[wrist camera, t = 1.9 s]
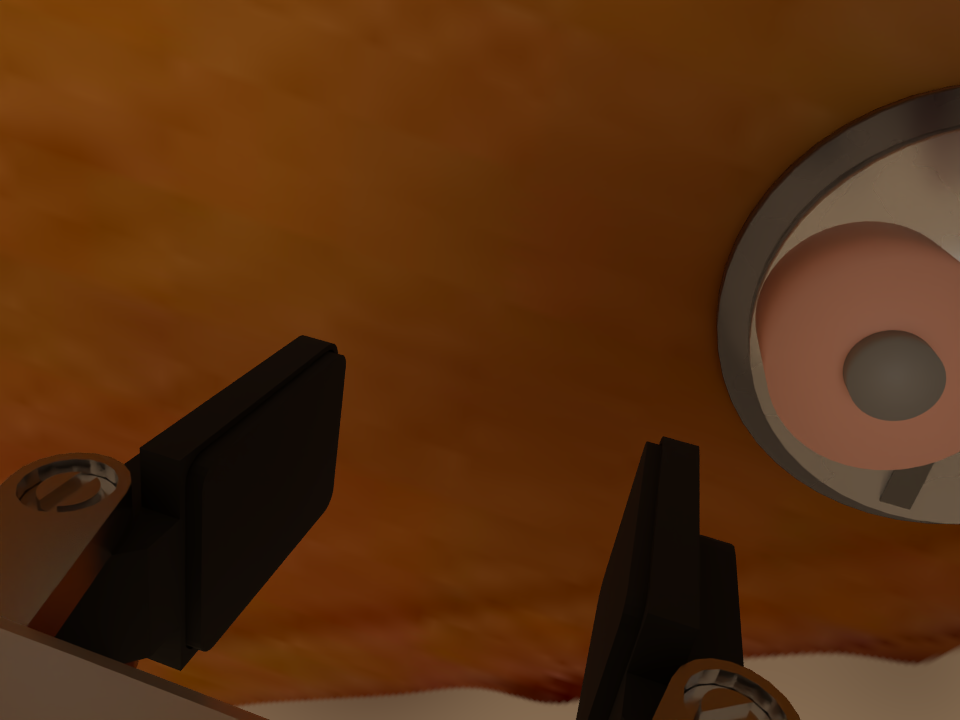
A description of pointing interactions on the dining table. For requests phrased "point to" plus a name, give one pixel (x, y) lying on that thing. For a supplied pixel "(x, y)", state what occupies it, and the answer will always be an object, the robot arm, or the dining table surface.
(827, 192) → the turntable
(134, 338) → the dining table surface
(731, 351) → the base
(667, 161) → the dining table surface
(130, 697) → the robot arm
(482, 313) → the dining table surface
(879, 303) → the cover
